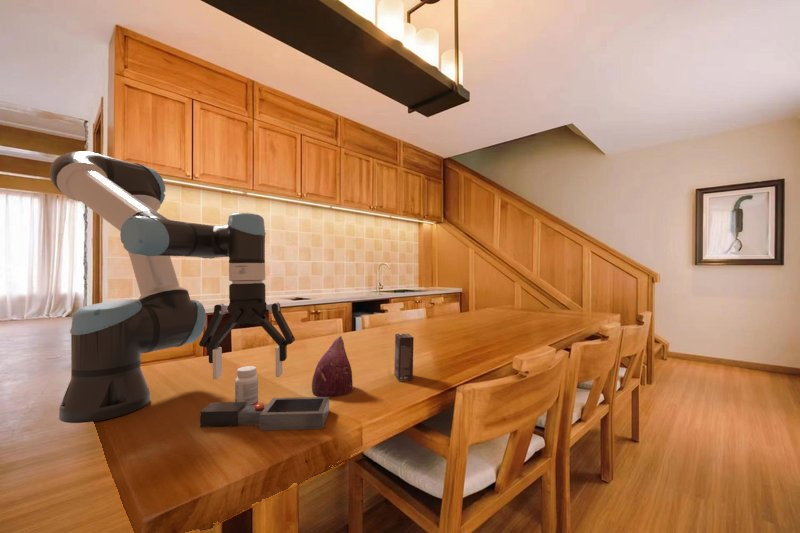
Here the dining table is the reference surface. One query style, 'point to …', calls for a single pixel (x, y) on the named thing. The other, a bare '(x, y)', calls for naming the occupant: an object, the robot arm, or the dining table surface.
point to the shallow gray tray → (269, 414)
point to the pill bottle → (246, 385)
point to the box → (403, 357)
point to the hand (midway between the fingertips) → (248, 376)
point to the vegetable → (333, 372)
